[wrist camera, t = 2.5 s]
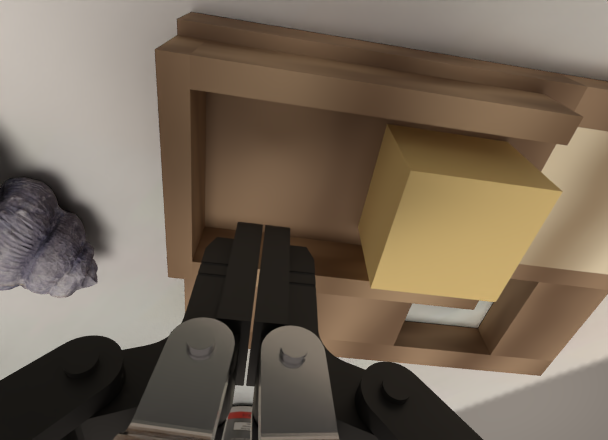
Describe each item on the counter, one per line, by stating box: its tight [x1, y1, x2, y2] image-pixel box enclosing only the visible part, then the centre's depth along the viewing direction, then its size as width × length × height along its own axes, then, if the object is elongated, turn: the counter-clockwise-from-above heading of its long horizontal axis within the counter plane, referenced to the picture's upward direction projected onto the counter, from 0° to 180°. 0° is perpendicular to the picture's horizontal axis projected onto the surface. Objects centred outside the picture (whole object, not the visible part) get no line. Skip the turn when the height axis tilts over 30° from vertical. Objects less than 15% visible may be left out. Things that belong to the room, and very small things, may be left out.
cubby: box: [155, 35, 583, 310], centre depth 15 cm, size 14×9×2 cm, turn 81°
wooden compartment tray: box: [177, 12, 608, 376], centre depth 20 cm, size 22×17×2 cm
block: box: [358, 124, 563, 302], centre depth 15 cm, size 5×5×4 cm
